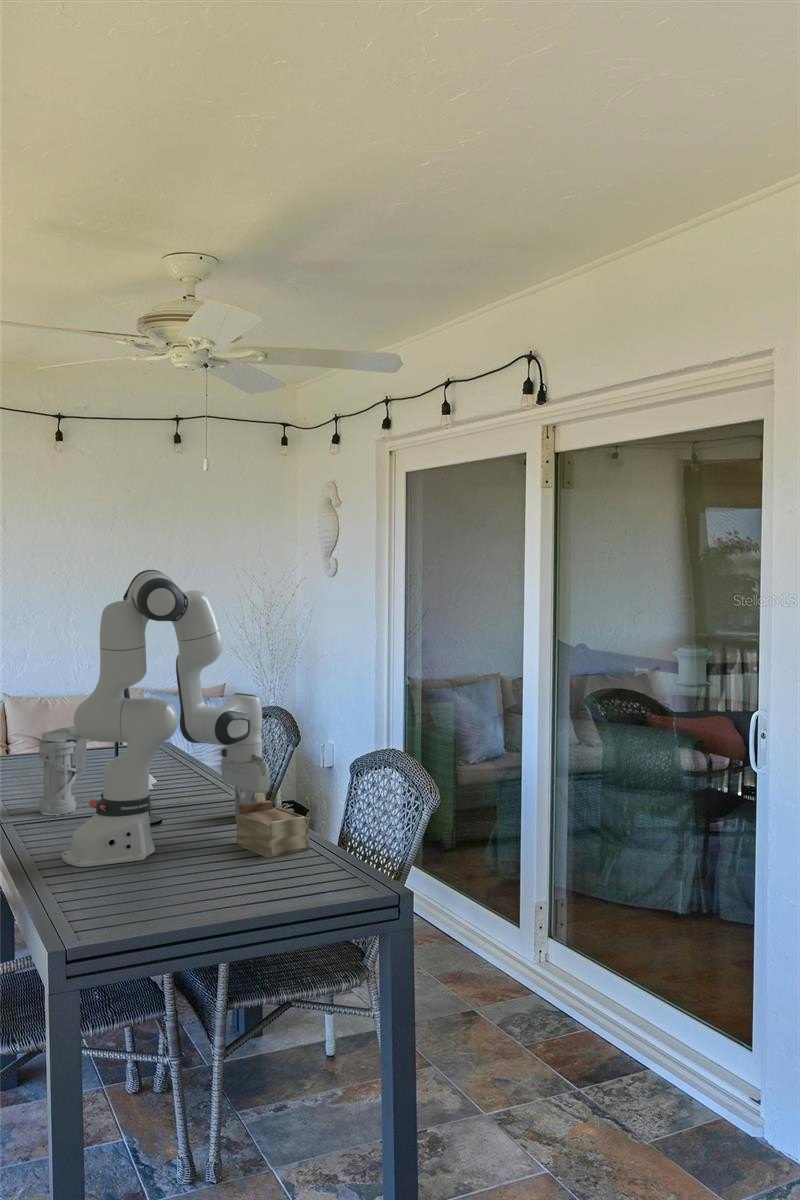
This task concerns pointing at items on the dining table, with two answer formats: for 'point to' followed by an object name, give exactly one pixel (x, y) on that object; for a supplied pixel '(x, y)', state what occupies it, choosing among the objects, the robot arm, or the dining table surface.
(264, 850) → the crate
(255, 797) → the coffee box
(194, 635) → the robot arm
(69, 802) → the lantern
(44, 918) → the dining table surface
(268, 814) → the lid
